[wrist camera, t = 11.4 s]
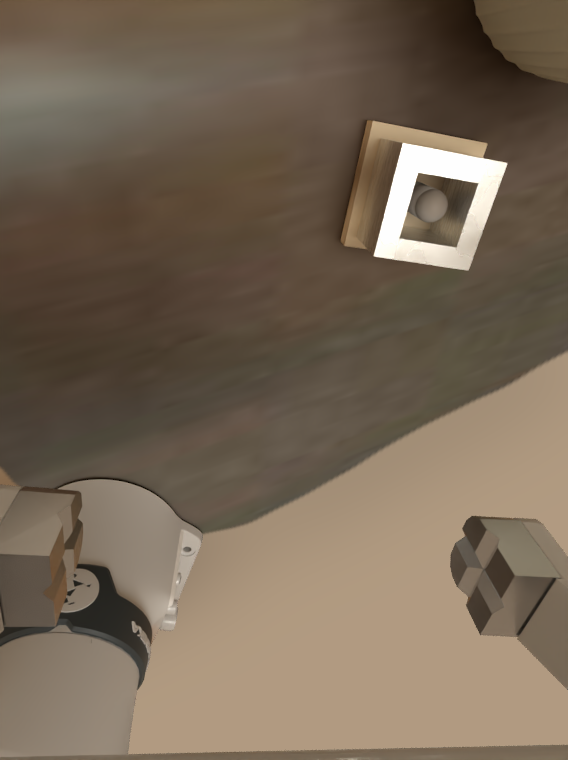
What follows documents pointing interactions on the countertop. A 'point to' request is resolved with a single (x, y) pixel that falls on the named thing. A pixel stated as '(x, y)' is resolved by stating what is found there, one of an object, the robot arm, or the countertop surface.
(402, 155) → the white hollow square block
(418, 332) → the countertop surface
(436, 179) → the base plate
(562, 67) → the canister
